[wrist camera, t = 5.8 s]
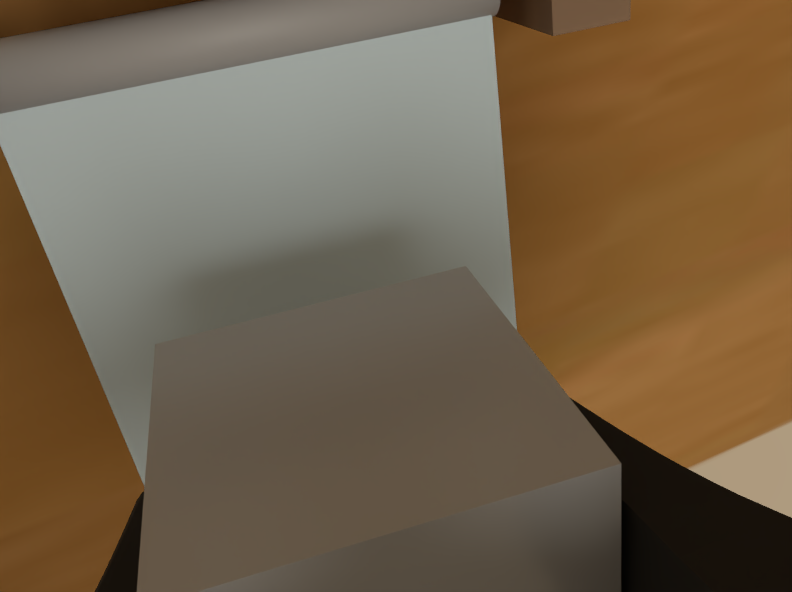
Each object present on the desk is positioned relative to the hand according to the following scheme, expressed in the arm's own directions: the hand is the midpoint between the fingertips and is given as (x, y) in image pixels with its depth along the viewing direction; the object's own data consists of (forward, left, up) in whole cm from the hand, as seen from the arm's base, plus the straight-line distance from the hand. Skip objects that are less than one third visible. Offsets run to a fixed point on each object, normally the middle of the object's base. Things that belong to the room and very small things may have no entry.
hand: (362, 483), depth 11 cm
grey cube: (0, 0, -2) cm, 2 cm away
